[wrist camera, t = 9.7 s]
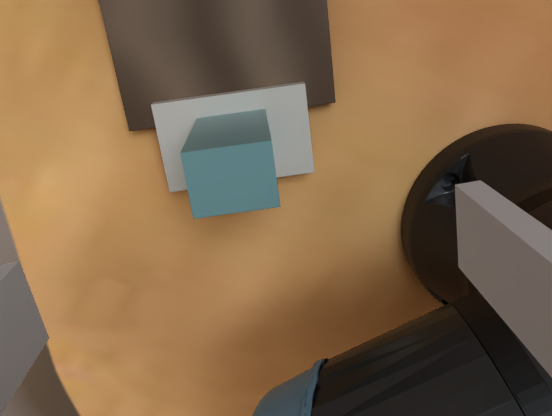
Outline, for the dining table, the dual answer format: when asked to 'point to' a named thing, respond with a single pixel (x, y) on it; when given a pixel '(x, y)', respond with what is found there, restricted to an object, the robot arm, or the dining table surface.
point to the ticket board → (215, 49)
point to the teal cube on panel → (234, 146)
